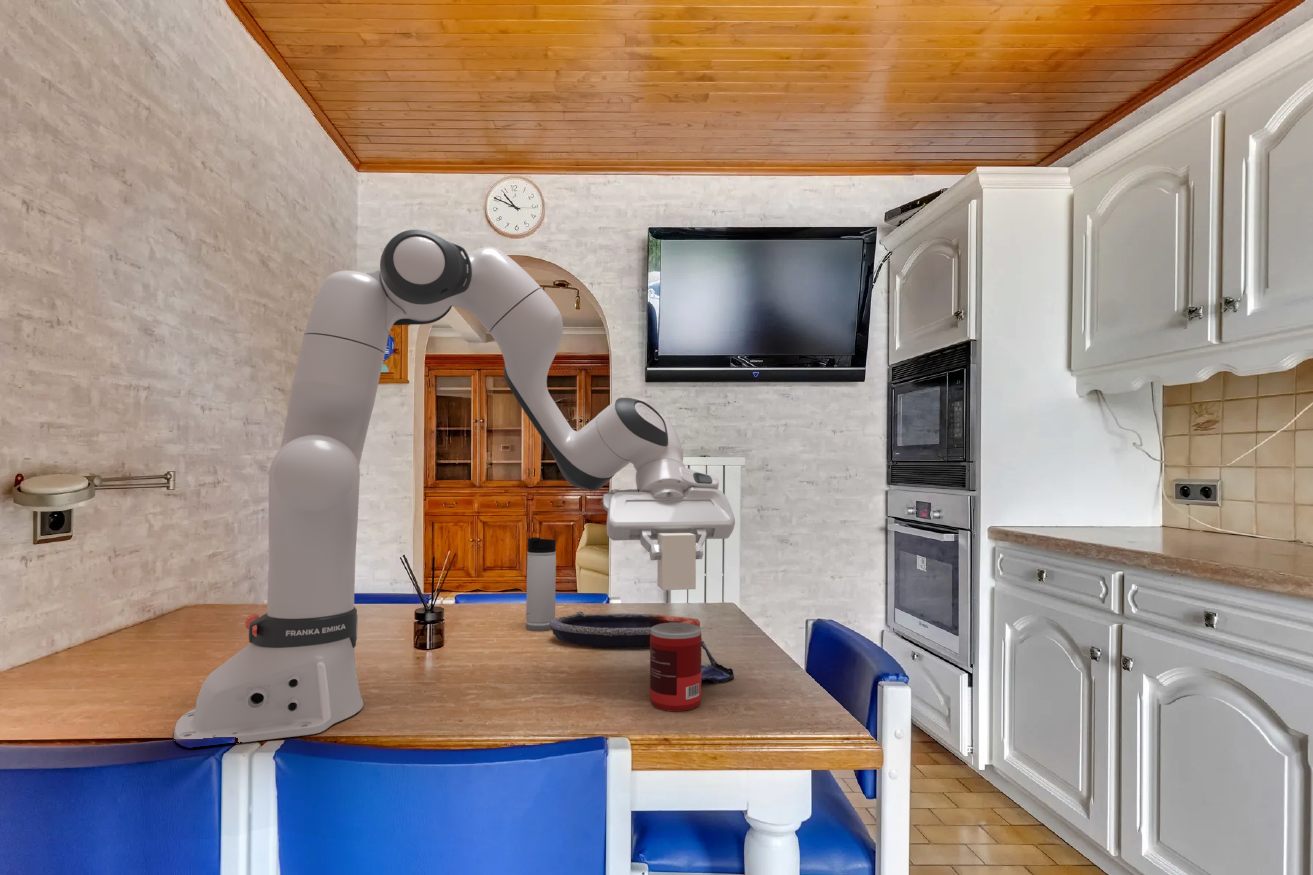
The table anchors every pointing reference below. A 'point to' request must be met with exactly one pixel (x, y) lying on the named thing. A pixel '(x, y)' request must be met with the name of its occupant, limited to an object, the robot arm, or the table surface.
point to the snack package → (715, 670)
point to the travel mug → (540, 583)
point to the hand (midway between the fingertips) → (677, 557)
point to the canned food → (675, 666)
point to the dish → (611, 629)
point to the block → (677, 561)
